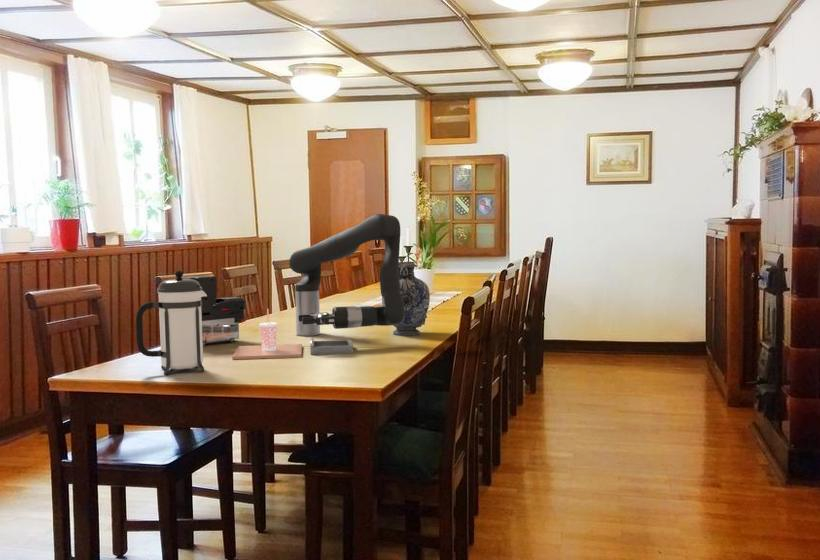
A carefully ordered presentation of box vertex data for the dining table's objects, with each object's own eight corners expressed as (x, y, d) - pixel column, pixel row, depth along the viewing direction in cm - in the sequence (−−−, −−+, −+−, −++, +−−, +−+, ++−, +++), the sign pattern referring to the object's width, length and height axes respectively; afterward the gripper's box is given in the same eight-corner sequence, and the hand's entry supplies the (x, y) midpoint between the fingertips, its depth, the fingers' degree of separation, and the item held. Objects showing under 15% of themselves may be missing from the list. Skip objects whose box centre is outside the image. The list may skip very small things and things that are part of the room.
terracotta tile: (238, 349, 272) (238, 346, 272) (302, 346, 275) (302, 343, 275) (232, 359, 250) (232, 356, 250) (301, 357, 253) (301, 354, 253)
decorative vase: (430, 337, 292) (428, 262, 290) (381, 338, 293) (378, 264, 291) (431, 329, 313) (429, 260, 312) (385, 330, 314) (382, 261, 312)
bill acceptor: (247, 341, 290) (245, 274, 288) (188, 348, 275) (186, 278, 273) (234, 338, 298) (232, 273, 296) (176, 345, 283) (174, 276, 281)
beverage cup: (262, 351, 258) (260, 310, 257) (258, 349, 264) (256, 308, 263) (280, 350, 261) (278, 308, 260) (276, 347, 266) (274, 307, 265)
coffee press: (179, 364, 243) (175, 268, 241) (218, 368, 236) (215, 269, 233) (136, 374, 228) (132, 272, 225) (177, 378, 220) (173, 273, 218)
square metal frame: (310, 348, 271) (310, 337, 271) (350, 346, 273) (350, 336, 272) (310, 354, 257) (310, 343, 257) (352, 353, 259) (352, 342, 259)
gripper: (342, 304, 276) (296, 306, 271) (351, 308, 263) (303, 310, 258) (343, 325, 277) (297, 328, 272) (351, 330, 263) (304, 333, 258)
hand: (300, 319), depth 265 cm, fingers open, 8 cm apart
